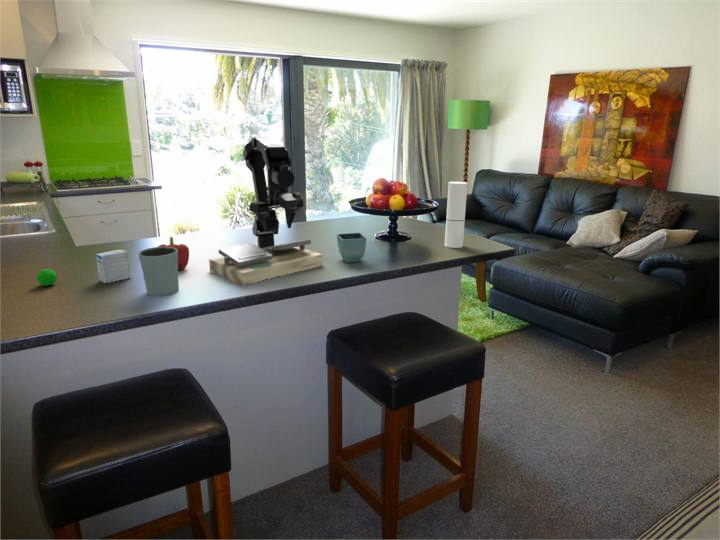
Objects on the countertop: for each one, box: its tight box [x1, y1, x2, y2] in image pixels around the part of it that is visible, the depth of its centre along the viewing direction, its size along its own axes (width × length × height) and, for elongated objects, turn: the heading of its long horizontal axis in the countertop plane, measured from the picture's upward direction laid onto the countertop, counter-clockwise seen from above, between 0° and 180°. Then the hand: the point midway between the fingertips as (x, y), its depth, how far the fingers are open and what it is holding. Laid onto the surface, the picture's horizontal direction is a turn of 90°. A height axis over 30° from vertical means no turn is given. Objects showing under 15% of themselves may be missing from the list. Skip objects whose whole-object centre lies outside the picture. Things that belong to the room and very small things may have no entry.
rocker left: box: [218, 242, 272, 267], centre depth 154 cm, size 12×12×2 cm
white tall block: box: [444, 181, 468, 249], centre depth 190 cm, size 7×7×25 cm
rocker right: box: [262, 239, 312, 252], centre depth 165 cm, size 12×12×2 cm
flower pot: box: [336, 232, 367, 263], centre depth 170 cm, size 9×9×9 cm
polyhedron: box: [36, 268, 58, 287], centre depth 142 cm, size 5×5×5 cm
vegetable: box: [157, 236, 190, 271], centre depth 158 cm, size 11×10×10 cm
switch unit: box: [208, 245, 324, 286], centre depth 161 cm, size 20×31×7 cm, turn 135°
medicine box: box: [94, 249, 132, 284], centre depth 147 cm, size 8×4×9 cm, turn 141°
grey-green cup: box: [137, 246, 180, 297], centre depth 137 cm, size 10×10×12 cm
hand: (278, 230), depth 167 cm, fingers open, 9 cm apart
